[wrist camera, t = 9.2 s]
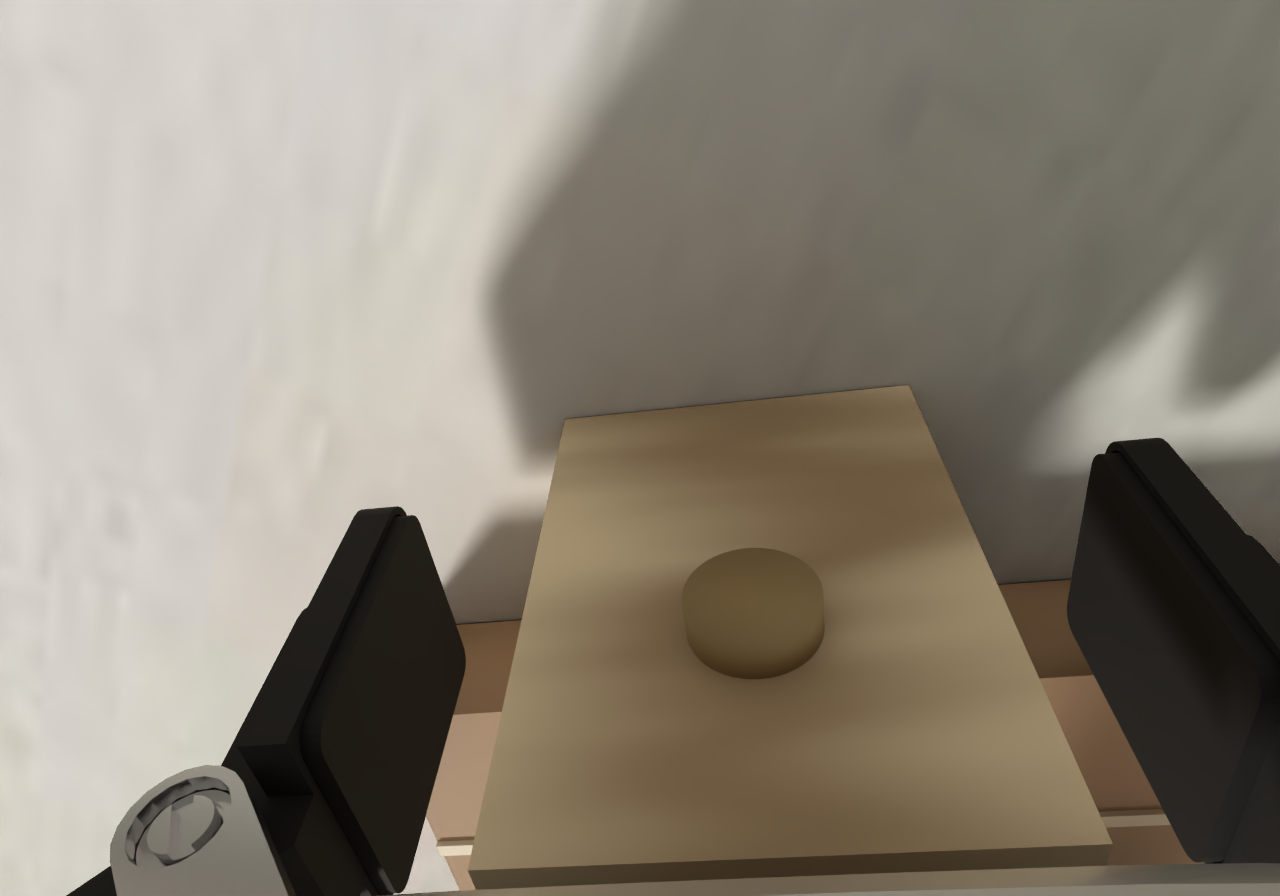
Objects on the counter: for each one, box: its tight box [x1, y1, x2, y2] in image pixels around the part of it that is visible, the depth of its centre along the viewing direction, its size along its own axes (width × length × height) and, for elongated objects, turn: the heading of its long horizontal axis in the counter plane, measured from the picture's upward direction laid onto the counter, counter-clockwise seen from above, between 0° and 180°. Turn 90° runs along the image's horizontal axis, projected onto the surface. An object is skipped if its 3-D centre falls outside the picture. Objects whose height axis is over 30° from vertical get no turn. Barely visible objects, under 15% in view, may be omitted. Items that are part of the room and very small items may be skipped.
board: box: [426, 564, 1280, 891], centre depth 16 cm, size 24×9×2 cm, turn 98°
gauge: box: [467, 385, 1113, 890], centre depth 13 cm, size 5×14×7 cm, turn 8°
